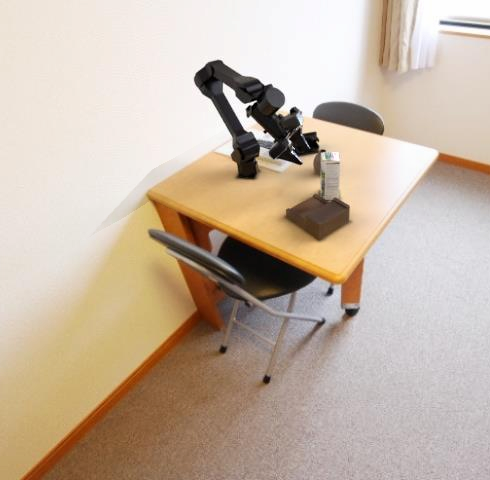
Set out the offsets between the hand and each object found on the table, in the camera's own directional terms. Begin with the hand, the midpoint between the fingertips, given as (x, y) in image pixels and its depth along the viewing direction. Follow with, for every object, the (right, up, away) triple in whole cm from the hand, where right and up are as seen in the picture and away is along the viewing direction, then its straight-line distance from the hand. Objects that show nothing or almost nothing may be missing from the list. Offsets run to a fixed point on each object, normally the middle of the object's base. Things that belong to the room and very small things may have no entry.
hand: (305, 157), depth 110 cm
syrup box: (+8, -11, +8) cm, 16 cm away
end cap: (-1, +10, +31) cm, 33 cm away
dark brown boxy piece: (+4, -20, -2) cm, 20 cm away
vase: (+6, -2, +18) cm, 19 cm away
